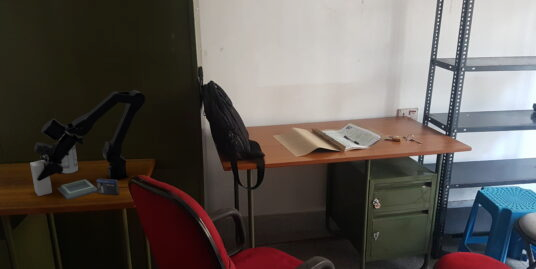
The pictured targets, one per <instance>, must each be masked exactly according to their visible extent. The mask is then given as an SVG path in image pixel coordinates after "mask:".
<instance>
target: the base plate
mask: <svg viewBox="0 0 536 269" xmlns="http://www.w3.org/2000/svg"><path fill="white" fill-rule="evenodd" d="M57 191H58V192H59V193H60V194H61V195H62V196H63V197H64V198H65V199H66V200H67V201H69V200H72V199H76V198H80V197H84V196H87V195H90V194H94V193H98V190H97V186H95V185H94V184H93V183H91V181H90V180H88V179H86V178H85V179H80V180H75V181H73V182H69V183H65V184H61V185H60V187H57Z"/></svg>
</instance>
